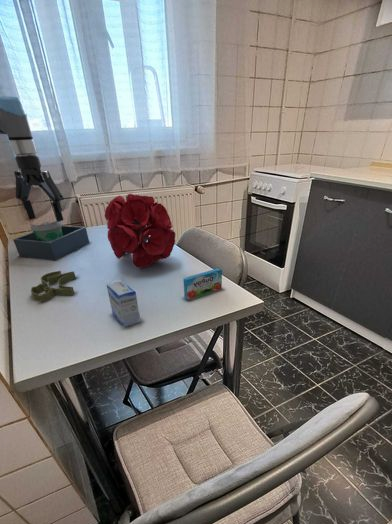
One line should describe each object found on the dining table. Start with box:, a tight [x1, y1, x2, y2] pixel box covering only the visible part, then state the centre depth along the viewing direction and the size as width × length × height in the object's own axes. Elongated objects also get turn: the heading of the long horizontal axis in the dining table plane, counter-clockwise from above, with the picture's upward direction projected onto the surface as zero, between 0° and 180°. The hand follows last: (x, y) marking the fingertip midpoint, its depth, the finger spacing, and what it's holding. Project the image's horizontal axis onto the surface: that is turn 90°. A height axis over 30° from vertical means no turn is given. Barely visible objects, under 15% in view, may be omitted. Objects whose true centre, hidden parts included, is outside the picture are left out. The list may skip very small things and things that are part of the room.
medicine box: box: [106, 280, 141, 328], centre depth 73 cm, size 8×4×9 cm, turn 35°
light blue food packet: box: [182, 267, 223, 301], centre depth 83 cm, size 12×2×6 cm, turn 123°
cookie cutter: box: [30, 270, 77, 303], centre depth 91 cm, size 18×12×2 cm, turn 15°
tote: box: [12, 225, 90, 261], centre depth 120 cm, size 18×22×7 cm
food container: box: [30, 220, 63, 242], centre depth 119 cm, size 12×6×10 cm, turn 138°
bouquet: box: [104, 193, 176, 269], centre depth 101 cm, size 22×24×30 cm
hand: (46, 219), depth 115 cm, fingers open, 13 cm apart
